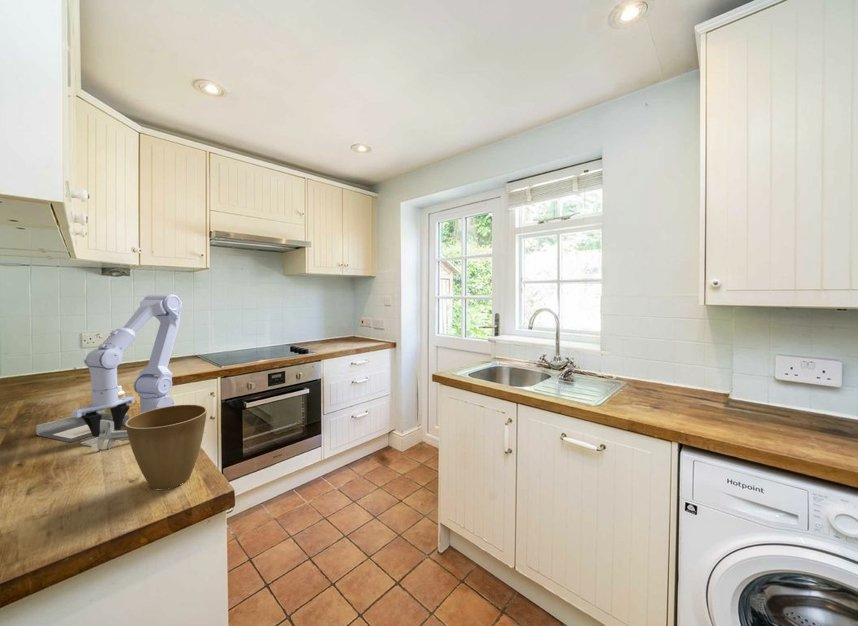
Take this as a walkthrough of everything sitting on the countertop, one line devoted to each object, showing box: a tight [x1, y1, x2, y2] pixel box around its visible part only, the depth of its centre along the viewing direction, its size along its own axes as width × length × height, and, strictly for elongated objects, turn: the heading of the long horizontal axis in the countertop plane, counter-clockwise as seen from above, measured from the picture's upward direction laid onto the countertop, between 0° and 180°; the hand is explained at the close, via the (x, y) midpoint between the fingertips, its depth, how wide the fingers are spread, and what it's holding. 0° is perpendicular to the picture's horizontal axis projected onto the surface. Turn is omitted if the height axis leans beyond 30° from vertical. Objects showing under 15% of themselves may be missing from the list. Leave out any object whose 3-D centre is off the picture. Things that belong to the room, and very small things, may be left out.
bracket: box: [80, 419, 115, 448], centre depth 100 cm, size 6×5×6 cm
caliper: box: [96, 428, 129, 452], centre depth 102 cm, size 20×1×6 cm, turn 143°
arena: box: [35, 410, 130, 444], centre depth 109 cm, size 16×15×3 cm
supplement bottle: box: [104, 385, 126, 412], centre depth 123 cm, size 6×6×10 cm
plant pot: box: [124, 404, 208, 490], centre depth 78 cm, size 15×15×16 cm
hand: (106, 432), depth 102 cm, fingers open, 5 cm apart
